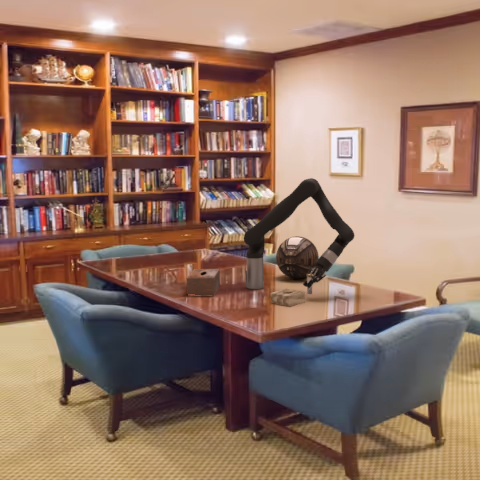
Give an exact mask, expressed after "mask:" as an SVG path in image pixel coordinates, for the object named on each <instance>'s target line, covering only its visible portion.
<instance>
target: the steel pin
mask: <svg viewBox="0 0 480 480" xmlns="http://www.w3.org/2000/svg"><path fill="white" fill-rule="evenodd" d="M312 276H313V274H307V277H306V280H307V284H308V282H309V281H310V280H311V279H312ZM306 288H307V289H306V294H307V295H312V294H313V285H312V286H311V287H310V288H308V287H306Z"/></svg>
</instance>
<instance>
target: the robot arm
mask: <svg viewBox="0 0 480 480" xmlns="http://www.w3.org/2000/svg"><path fill="white" fill-rule="evenodd" d="M309 198H312V200H313V201H314V202H315V203H316V204H317V206H318V208H319V209H320V212H321V214H322V216H323V218H324V220H325V221H326V222H327V224H328V225H329V226H330V228H331V230H335V231H336V232H337V233H338V234H337V236H336V237H335V239H334V240H333V242H331V243H330V244H329V246H328V248H327V249H326V250H325V251H324V252H323V253H322V254H321V255H320V257H319V259H318V260H317V262H316V266H315V267H314V268H313V269H311V268H309V270H308V273H307V274H313V276H312V279H311V280H310V281H309V282H308V284H307V279H306V280H304V282H303V284H302V285H303V286H304V287H306V288H307V287H308V288H310V287H311V286H312V287H313V285H314V284H316V283H319V282H320V281H322V280H323V279H324V278H325V277H327V275H326V274H325V273H326V272H329V271H330V269H331V268H332V267H333V265H334V264H335V263H336V262H337V259H338V258H339V257H340V256H341V254H343V251H344V250H345V248H347V246H348V245H349V243H351V242H352V241H353V240H354V239H355V232H354V230H353V229H352V228H351V226H349V224H348V223H346V222H345V221H344V220H343V218H342V217H341V216H340V214H339V213H338V212H337V210H336V209H335V208H334V206H333V205H332V203H331V202H330V200H329V199H328V197H327V196H326V194H325V192H324V190H323V188H322V186H321V185H320V183H319V181H318V180H317V179H315V178H313V177H311V178H307V179H304V180H301V182H300V183H299V184H298V186H297V187H296V188H295V189H294V190H293V191H292V192H291V193H290V194H289V195H287V196H286V197H285V198H284V199H282V200H281V201H279V203H277V204H276V205H275V206H273V208H272V209H271V210H269V211H268V212H267V213H266V215H264V216H263V218H261V219H260V221H258V223H256V224H255V225H253V226H252V227H251V228H249V229H248V230H246V231H245V233H244V235H243V241H244V243H245V244H246V245H247V246H248V250H247V251H246V270H245V288H247V289H249V290H261V289H264V288H265V284H264V281H265V279H264V252H265V245H266V244H265V242H266V241H265V238H266V237H265V236H266V235H267V234H268V233H269V232H270V231H273V230H274V229H275V228H277V227H279V226H281V224H282V223H284V222H285V221H286V220H288V219H289V218H290V217H291V216H292V215H293V214H294V212H295V211H296V210H297V208H298V207H299V206H300V205H301V204H302V203H303V202H305V201H306V200H308V199H309ZM305 278H307V275H306V277H305Z"/></svg>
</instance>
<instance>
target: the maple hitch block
mask: <svg viewBox="0 0 480 480" xmlns="http://www.w3.org/2000/svg"><path fill="white" fill-rule="evenodd" d="M305 293H306V292H305V291H300V290H295V289H288V288H285V289H281V290H276V291H273V292H270V303H271V304H275V305H278V306H280V305H281V306H285V307H292V306H295V305H300V304H303V303H305V302H306V294H305ZM299 303H300V304H299Z"/></svg>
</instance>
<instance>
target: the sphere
mask: <svg viewBox="0 0 480 480" xmlns="http://www.w3.org/2000/svg"><path fill="white" fill-rule="evenodd" d="M319 256H320V255H319V251H318V249H317V247H316V245H315V243H313V242H312V241H311V240H309V239H308V238H306V237H303V236H299V235H298V236H291V237H289V238H286V239H285V240H283V241H282V242H281V243H280V244H279V246H278V248H277V250H276V254H275V260H276V261H275V262H276V265H277V267H278V269H279V271H280V272H281V273H282V274H284V275H285V277H286V276H287V278H291V279H295V280H299V279H300V280H301V279H305V278H307V277H306V275H307V273H308V270H309V268H311V269H313V268H314V267H315V266H316V262H317V260H318V259H319V258H320V257H319Z"/></svg>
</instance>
